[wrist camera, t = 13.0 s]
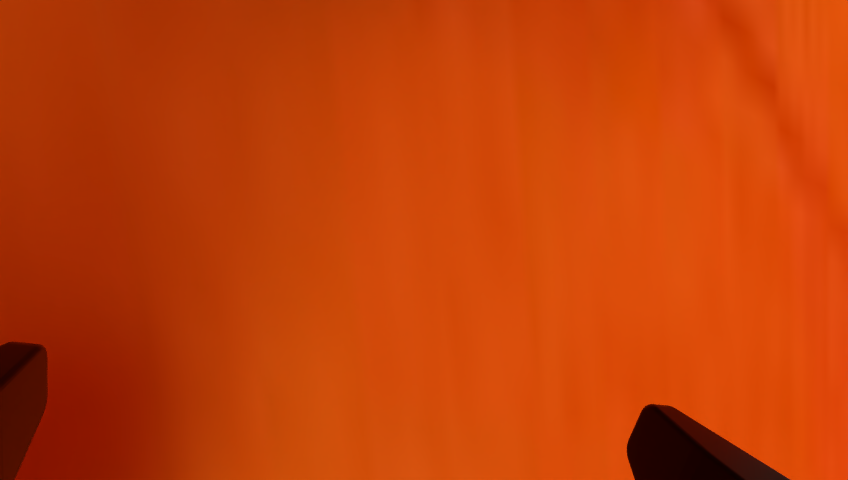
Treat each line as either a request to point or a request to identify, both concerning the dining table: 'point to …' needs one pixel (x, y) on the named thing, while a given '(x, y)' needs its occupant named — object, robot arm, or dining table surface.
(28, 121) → the dining table surface
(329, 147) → the dining table surface
